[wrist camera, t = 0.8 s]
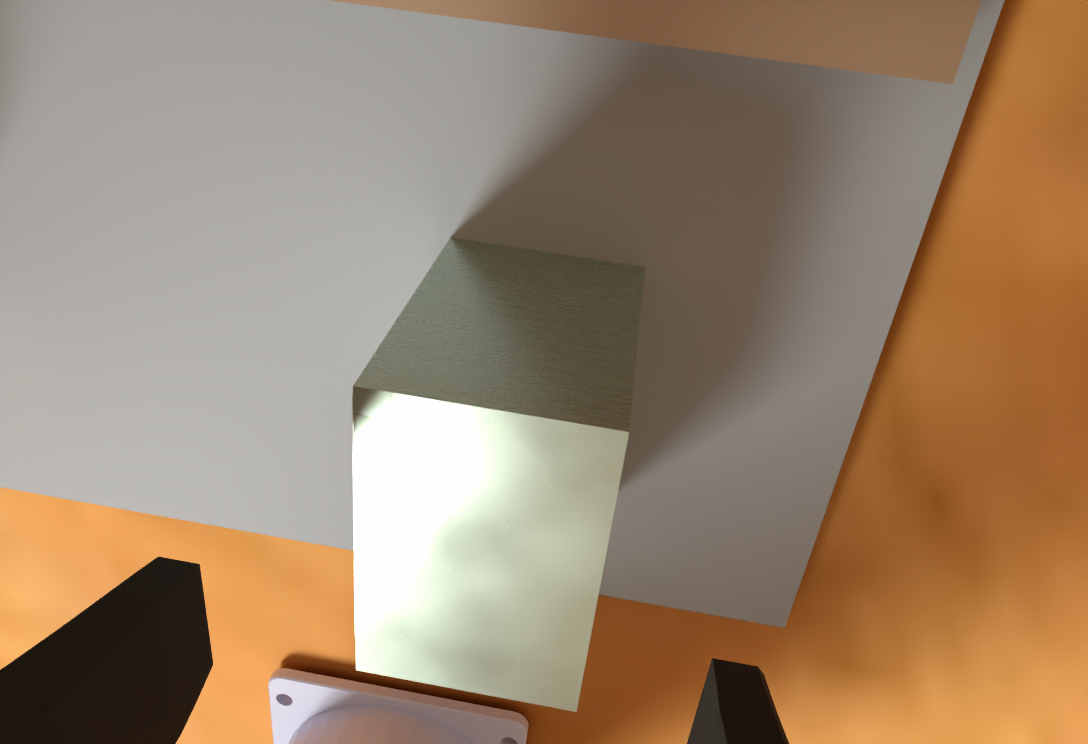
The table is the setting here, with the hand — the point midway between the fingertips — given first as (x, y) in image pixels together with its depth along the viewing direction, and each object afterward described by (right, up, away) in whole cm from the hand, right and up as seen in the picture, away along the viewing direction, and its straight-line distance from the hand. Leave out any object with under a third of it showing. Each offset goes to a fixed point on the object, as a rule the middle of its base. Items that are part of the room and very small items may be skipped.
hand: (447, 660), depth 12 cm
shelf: (-7, +7, +8) cm, 12 cm away
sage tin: (+1, +4, +7) cm, 8 cm away
